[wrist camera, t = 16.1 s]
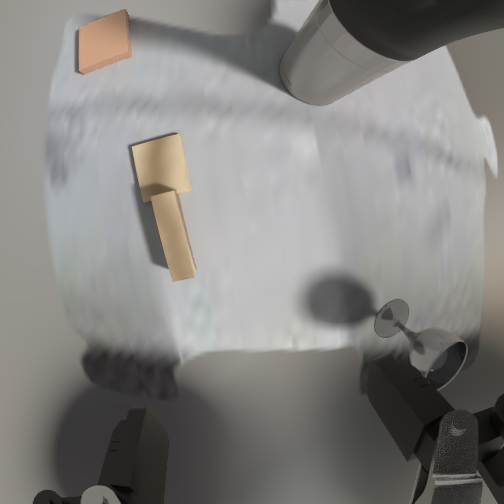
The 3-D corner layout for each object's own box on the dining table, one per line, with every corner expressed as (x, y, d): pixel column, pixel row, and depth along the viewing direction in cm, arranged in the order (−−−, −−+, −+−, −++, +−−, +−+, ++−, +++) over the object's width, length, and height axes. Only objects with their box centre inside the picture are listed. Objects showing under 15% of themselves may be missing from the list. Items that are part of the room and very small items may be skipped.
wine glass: (368, 343, 42) (416, 399, 27) (376, 300, 40) (435, 350, 25) (405, 335, 43) (456, 382, 28) (414, 294, 41) (474, 335, 26)
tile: (132, 57, 27) (129, 16, 25) (128, 51, 25) (125, 9, 23) (85, 75, 27) (85, 33, 25) (79, 70, 25) (79, 27, 22)
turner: (180, 134, 31) (176, 129, 27) (209, 264, 35) (208, 274, 32) (134, 147, 30) (125, 144, 27) (164, 274, 35) (159, 284, 31)
